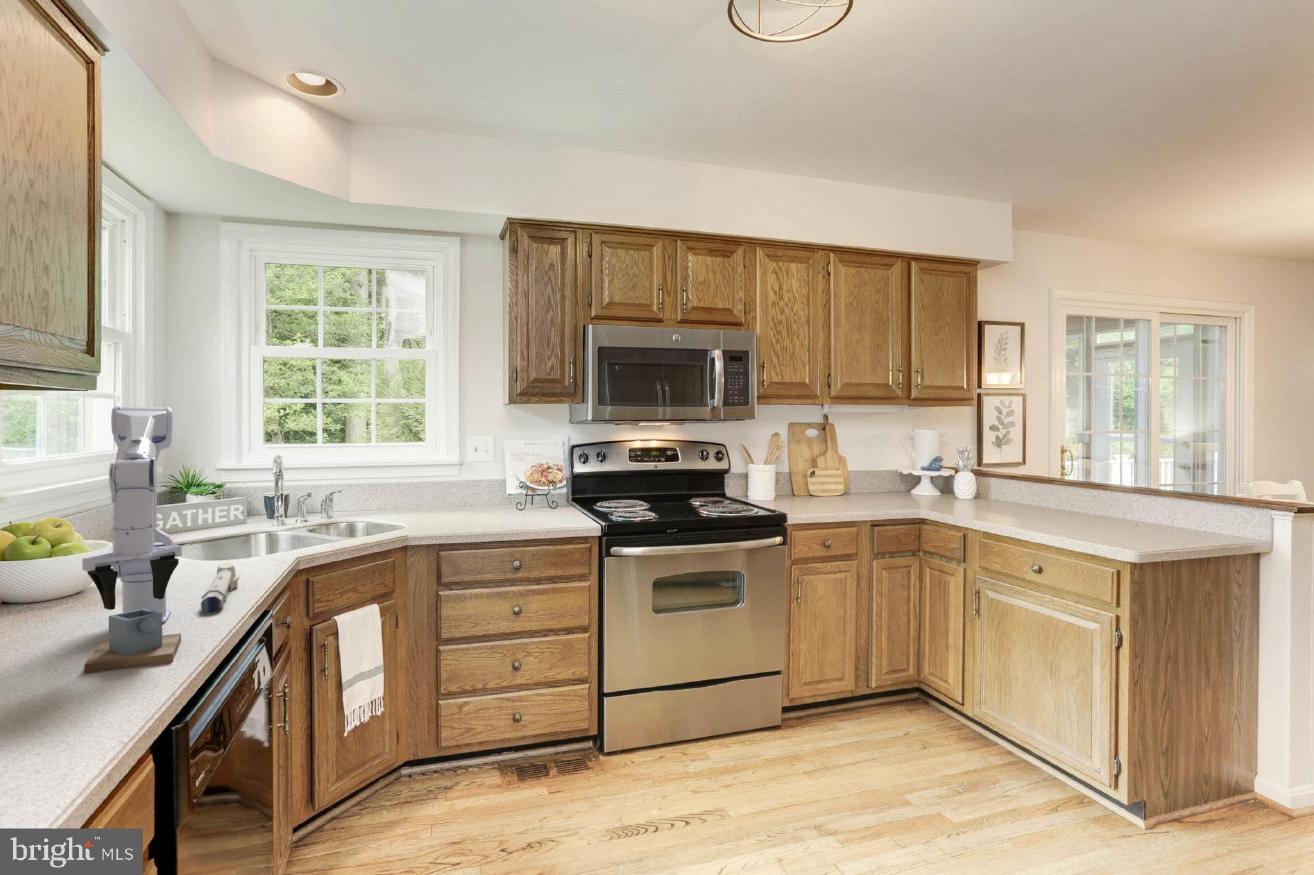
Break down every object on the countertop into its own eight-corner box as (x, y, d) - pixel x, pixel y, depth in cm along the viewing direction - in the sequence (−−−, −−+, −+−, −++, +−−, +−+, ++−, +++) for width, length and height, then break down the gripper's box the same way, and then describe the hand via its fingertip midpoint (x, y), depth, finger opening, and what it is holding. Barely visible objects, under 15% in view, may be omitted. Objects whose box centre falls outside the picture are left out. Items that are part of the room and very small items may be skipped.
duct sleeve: (108, 649, 120) (108, 615, 120) (144, 640, 125) (144, 608, 125) (133, 657, 117) (132, 622, 117) (168, 647, 122) (168, 614, 122)
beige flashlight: (196, 597, 147) (215, 558, 169) (197, 626, 148) (216, 583, 170) (225, 594, 149) (240, 556, 171) (226, 623, 150) (240, 581, 172)
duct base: (100, 650, 124) (100, 623, 124) (181, 641, 130) (180, 614, 130) (84, 673, 114) (84, 643, 113) (172, 661, 119) (172, 633, 119)
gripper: (96, 535, 113) (97, 617, 114) (190, 523, 126) (191, 597, 126) (75, 531, 116) (76, 610, 117) (169, 520, 129) (169, 591, 130)
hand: (134, 603), depth 122 cm, fingers open, 7 cm apart
